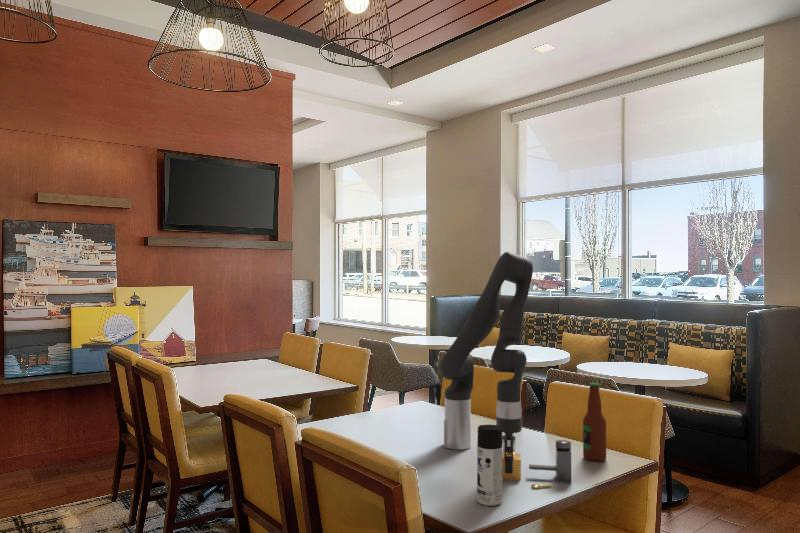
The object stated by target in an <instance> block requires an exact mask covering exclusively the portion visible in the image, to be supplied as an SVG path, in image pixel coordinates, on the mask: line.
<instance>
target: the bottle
mask: <svg viewBox="0 0 800 533" xmlns="http://www.w3.org/2000/svg"><path fill="white" fill-rule="evenodd" d="M588 390H589V393H588V399H587V412H586V413H585V415H584V417H583V418H582V434H583V435H582V452H583V453H582V456H583V458H584V459H585V460H587V461H589V462H595V463H601V462H604V461H605V460H606V459H607V419H606V418H605V416H604V415H603V412H602V401H601V395H600V384H599V383H598V382H590V383H589V388H588Z"/></svg>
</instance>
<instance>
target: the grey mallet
mask: <svg viewBox="0 0 800 533" xmlns="http://www.w3.org/2000/svg"><path fill="white" fill-rule="evenodd" d="M571 450H572V442H571V441H570V440H565V439H558V440H555V465H545V464H528V469H529V470H536V471H553V472H555V478H556V482H557V483H565V484H566V483H568V484H571V483H572V451H571Z"/></svg>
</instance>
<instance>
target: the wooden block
mask: <svg viewBox="0 0 800 533" xmlns="http://www.w3.org/2000/svg"><path fill="white" fill-rule="evenodd" d="M506 456H511V454H509V453H507V454H506ZM504 457H505V454H504V453H503V452H502V480H515V481H516V480H517V481H521V480H522V473H521V472H522V469H521V468H522V467H521V466H522V458H521V457H522V456H521V453H516V452H515V453H514V454H513V458H514V460H513V473H512V474H509V473H505V459H504Z"/></svg>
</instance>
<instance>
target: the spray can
mask: <svg viewBox="0 0 800 533" xmlns="http://www.w3.org/2000/svg"><path fill="white" fill-rule="evenodd" d="M502 435H503V432H502V427H500V426H497V425H496V424H479V426H477V444H476V445H477V448H476V449H477V456H476V457H477V459H476V460H477V462H476V464H477V466H476V470H477V473H476V475H477V478H476V482H477V484H476V486H477V487H476V494H477V495H476V499H477V502H478V504H480V505H482V506H486V507H498V506H500V505H501V504H502V502H503V479H502V453H503V443H502Z"/></svg>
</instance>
